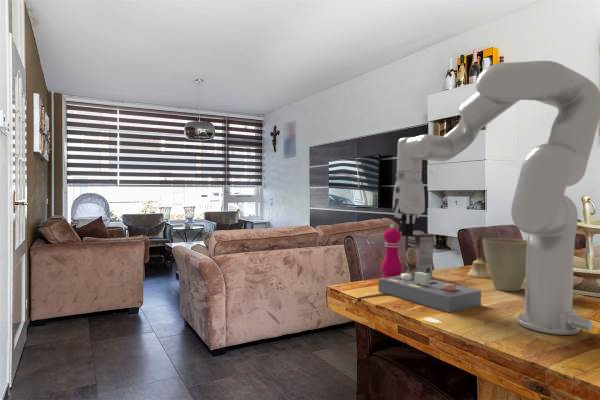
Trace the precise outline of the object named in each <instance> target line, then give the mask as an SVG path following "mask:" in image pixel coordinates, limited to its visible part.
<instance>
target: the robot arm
mask: <svg viewBox="0 0 600 400" xmlns="http://www.w3.org/2000/svg"><path fill="white" fill-rule="evenodd" d="M475 86H476V87H475V88H476V92H474V94H472V95H471V96H470V97H469V98H468V99H467V100H465V101H464V102H463V103H461V104H460V105H459V108H458V111H459V112H458V113H459V115H460V120H459V121H458V124H457V125H456V126H454V127H453V128H452V129H451V130H449V132H447V133H446V134H445V135H444V136H442V135H437V134H436V135H435V134H429V133H425V134H420V135H416V136H407V137H402V138H399V139H398V141H397V157H396V174H395V178H396V181H395V183H394V188H393V195H392V211H393V213H394V214H393V216H394V218H397V219H399V221H400V223H401V237H406V236H407V237H412V236H413V232H414V224H415V223H416V219H418V218H420V217H421V216H422V215H421V214H423V213H425V211H426V201H425V200H426V198H425V195H426V194H425V188H424V187H425V186H424V183H423V182H422V173H423V172H422V171H423V170H422V169H423V160H424V161H432V162H433V161H435V162H447V161H449V160H452V159H453V158H454V157H456V156H458V155H460V154H461V153H462V152H463V151H464V150H466V149H467V148H468V147H469V146H470V145H471V144H472V143H473V142H474V141H475V139H476V138H477V137H478V135H479V134H480V131H481V130H482V129H483V128H484V127H486V126H487V125H488V124H489V123H492V121H493V120H495V119H496V118H498V117H499V116H500V115H502V114H503V113H504V112H507V110H509V109H511V108H512V107H513V106H514V105H516V104H517V103H518V102H519V101H536V102H539V103H543V104H545V105H549V106H552V107H555V108H556V109H557V111H558V112H557V115H556V116H555V118H554V120H553V122H552V124H551V125H552V126H551V128H550V132H549V136H548V140H547V142H546V143H542V144H540V145H538V146H537V145H536V146H535V147H534V148H533V149H531V151H529V153H528V154H527V155H526V157H525V159H524V160H523V163H522V165H521V167H520V168H521V169H520V171H519V176H518V180H517V182H516V184H517V185H516V188H515V191H514V196H513V198H512V203H511V204H512V205H511V211H510V213H511V219H512V222H513V223H514V225H515V226H516V228H517V229H518V230H520V231H521V232H523V233H525V234H527V235H528V236H527V239H526V240H527V248H526V276H525V279H524V281H525V284H524V285H525V286H524V287H525V288H524V313H521V314H519V315H518V316H517V319H516V320H517V321H516V322H517V323H518V324H519V325H520V326H522V327H524V328H525V329H526V328H527V329H529V330H532V331H535V332H539V333H544V334H551V335H565V336H567V335H568V336H569V335H570V336H571V335H576V334H579V333H580V331H581V329H582V330H585V331H592V330H593V322H592V321H591V319H589V318H584V317H580V316H579V315H578V310H576V309H573V296H574V295H573V294H574V262H575V259H574V258H575V243H576V242H575V241H576V236H577V235H576V234H577V228H578V220H579V211H578V209H577V205H576V204H575V202H574V201H573V200H572V199H571V198H570V197H569V196H567V195H565V193H566V189H567V188H568V187H572V186H575V185H576V184H578V183H580V182H581V180H582V179H583V178H584V177H585V174H586V171H587V166H588V163H589V159H590V156H591V152H592V149H593V146H594V145H593V144H594V141H595V137H596V132H597V129H598V126H599V122H600V89H599V87H598V86H597V84H595V83H594V82H593V81H592V80H590V79H589V78H587V77H586V76H584V75H582V74H580V73H578V72H577V71H575V70H573V69H571V68H569V67H567V66H565V65H563V64H561V63H559V62H557V61H552V60H533V61H515V62H514V61H513V62H499V63H494V64H491V65H489V66H488V67H485V68H484V69H483V70H482V71H481V73H479V75H478V77H477V79H476V83H475Z"/></svg>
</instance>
